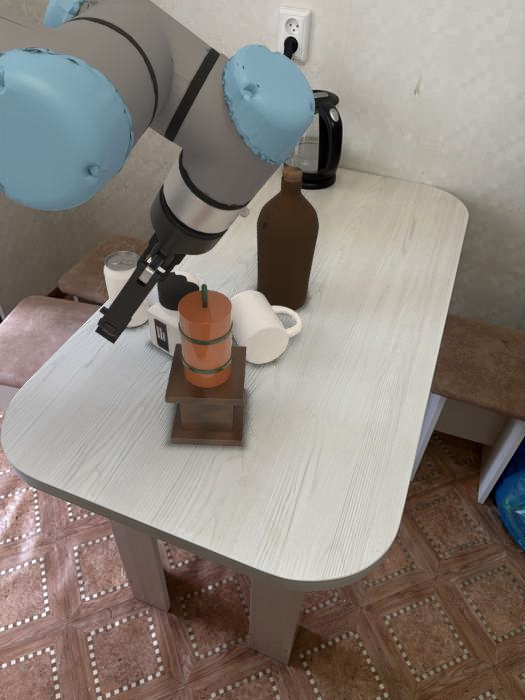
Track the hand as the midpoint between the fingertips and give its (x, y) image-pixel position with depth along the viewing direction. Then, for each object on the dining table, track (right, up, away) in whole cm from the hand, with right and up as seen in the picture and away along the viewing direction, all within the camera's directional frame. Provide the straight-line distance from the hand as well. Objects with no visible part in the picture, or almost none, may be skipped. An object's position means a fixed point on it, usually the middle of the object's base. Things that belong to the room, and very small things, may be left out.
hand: (134, 298), depth 66 cm
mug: (+17, -5, +21) cm, 28 cm away
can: (-7, -1, +25) cm, 26 cm away
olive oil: (+20, +3, +31) cm, 37 cm away
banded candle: (+9, -9, +2) cm, 13 cm away
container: (+3, -6, +20) cm, 21 cm away
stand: (+9, -17, +9) cm, 21 cm away
